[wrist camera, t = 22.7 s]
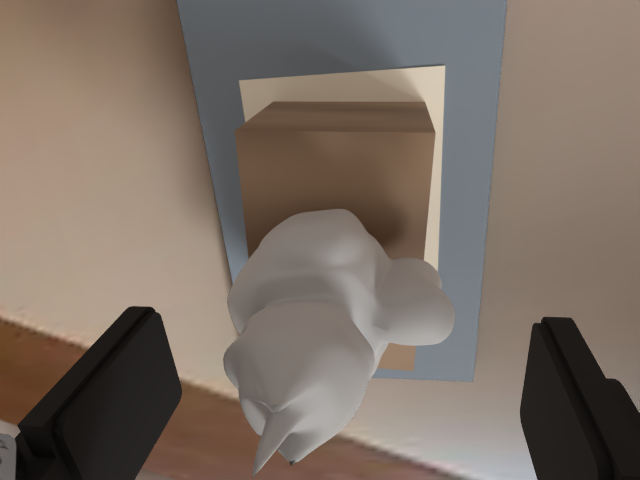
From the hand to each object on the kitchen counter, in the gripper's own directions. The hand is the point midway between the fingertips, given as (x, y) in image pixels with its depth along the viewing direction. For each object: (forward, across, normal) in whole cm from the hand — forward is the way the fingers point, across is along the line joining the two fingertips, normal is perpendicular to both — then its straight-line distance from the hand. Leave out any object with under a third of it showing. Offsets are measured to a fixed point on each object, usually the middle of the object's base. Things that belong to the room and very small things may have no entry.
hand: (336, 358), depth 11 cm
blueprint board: (+11, +1, 0) cm, 11 cm away
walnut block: (+10, +1, 0) cm, 10 cm away
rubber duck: (+5, 0, 0) cm, 5 cm away
